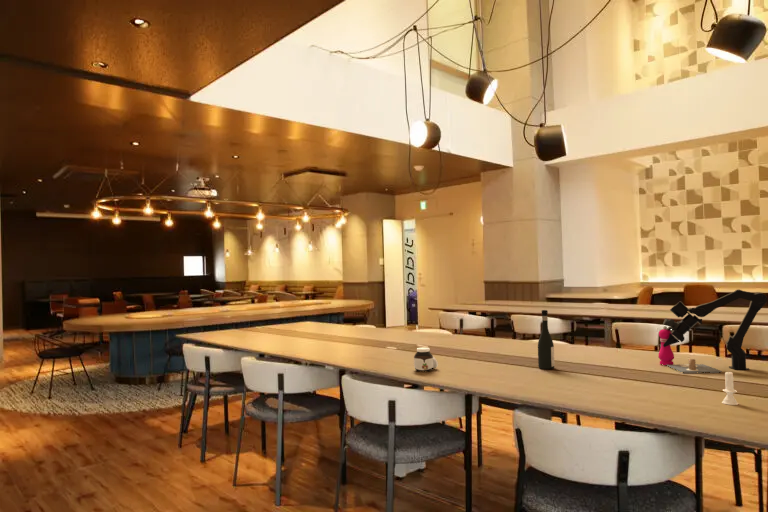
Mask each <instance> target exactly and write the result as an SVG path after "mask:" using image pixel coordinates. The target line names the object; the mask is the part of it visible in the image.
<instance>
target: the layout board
mask: <svg viewBox="0 0 768 512" xmlns="http://www.w3.org/2000/svg"><path fill="white" fill-rule="evenodd" d="M696 362H697V361H696V359H695V358H689V359H688V363H683V364H681V363H679V364H673V365H667V366H669V367H671V368H674V369H676V370H678V371H680V372H684V373H683V374H702V373H701V372H704V373H703V374H706V373H705V372H710V373H709V374H720V373H719V372H722V373H723V370H720V369H718V368H715V367H713V366H709V365H707V364H705V363H704V364H703V363H700V364H697V363H696ZM667 366H666V367H667ZM671 368H670V369H671ZM676 370H675V371H676ZM678 371H677V372H678ZM680 372H679V373H680ZM697 372H698V373H697Z"/></svg>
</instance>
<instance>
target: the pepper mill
mask: <svg viewBox="0 0 768 512" xmlns="http://www.w3.org/2000/svg"><path fill="white" fill-rule="evenodd" d="M662 328H663V329H660V330H659V331H658V336H659V341H660V349H659V352H658V358H659V365H660V364H663V365H674V361H673V360H674V359H675V354H674V351H673V350H672V347H671V345H669V346H666V347H664V346H663V344H664V343H665V342H666V340H667V339H668V338H669V333H670V334H672V333H671V331H670V330H668V329H667V328H668V326H667V325H665V326H664V325H663V326H662ZM663 365H662V366H663Z"/></svg>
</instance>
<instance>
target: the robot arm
mask: <svg viewBox="0 0 768 512" xmlns="http://www.w3.org/2000/svg"><path fill="white" fill-rule="evenodd" d="M738 299H743V300H746V301H750V302H749V306H748V309H747V311H746V312H745V314H744V317H743V319H742V321H741V323H740V324H739V326H738V328H737V329H736V331H735V333H734V334H733V335H729V336H728V339H727V340H726V341H725V345H726V346H725V347H726V349H727V350H726V351H727V352H729V353H730V354H731V366H728V368H729V369H732V370H737V371H739V370H740V371H743V370H744V371H745V370H746V371H747V370H748V371H749V370H750V368H749V367H747V358H746V356H747V353H746V350H744V349H743V348H742V347H743V344H744V343H743V342H744V338H745V336H746V334H747V332H748V331H749V329H750V327H751V325H752V323H753V322H754V319H755V317H756V315H757V314H758V312H760V310H761V309H763V307H764V306H765V305H766V303H767V302H768V297H767V295H766V294H764V293H762V292H750V291H745V290H742V289H736V290H734V291H732V292H729V293H727V294H726V295H723V296H721V297H720V298H717V299H714V300H712V301H710V302H706V303H701V304H699V305H697V306H695V307H687V306H686V305H685V304H684V303H683V302H682V301H679V302H677V303H676V304H674V305H673V306H672V307H671V308H670V309H669V311H670V312H671V313H673V315H674V316H676V317H677V318H683V319H681V320H680V321H677V322H676V321H675V319H672V318H667V317H666V318H664V320H663V323H662V325H663V326H664V325H665V326H667V329H668V330H670V331H671V333H672V334H670V333H669V338H668V339H667V340H666V342H665V343H664V344H663V346H664V347H666V346H669V345H670V346H671V345H674V344H677V343H680V342H681V343H683V342H684V341H685V334H687V333H688V332H690V331H691V329H693V327H694V326H695V325H697V323H698V324H699V325H703V319H702V318H704V317H706V316H707V315H710V314H711V313H712V312H714V311H715V310H716V309H718V308H721V307H722V306H723V307H724V305H727V304H729V303H731V302H733V301H736V300H738Z"/></svg>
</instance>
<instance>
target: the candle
mask: <svg viewBox="0 0 768 512" xmlns="http://www.w3.org/2000/svg"><path fill="white" fill-rule="evenodd" d="M724 380H725V381H724V382H725V386H724V387H725V388H724V389H722V391H723V392H724V393H726V396H724V398H723V400H722V401H721V403H722V404H724V405H728V406H737V405H739V402H738V401H737V399H736V398H735V396H734V394H735V393H737V392H738V391H737V390H736V389H735V388H734V380H735V378H734V374H733V372H732V371H726V372H724Z"/></svg>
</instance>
